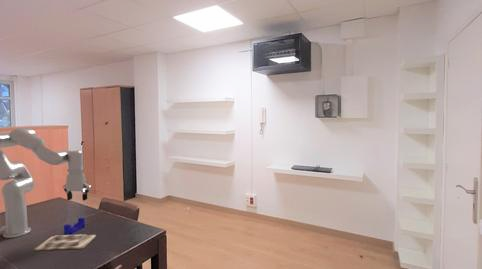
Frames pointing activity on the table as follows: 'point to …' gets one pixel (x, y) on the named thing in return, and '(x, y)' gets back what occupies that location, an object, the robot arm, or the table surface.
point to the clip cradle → (66, 242)
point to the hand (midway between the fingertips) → (77, 199)
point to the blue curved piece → (74, 227)
